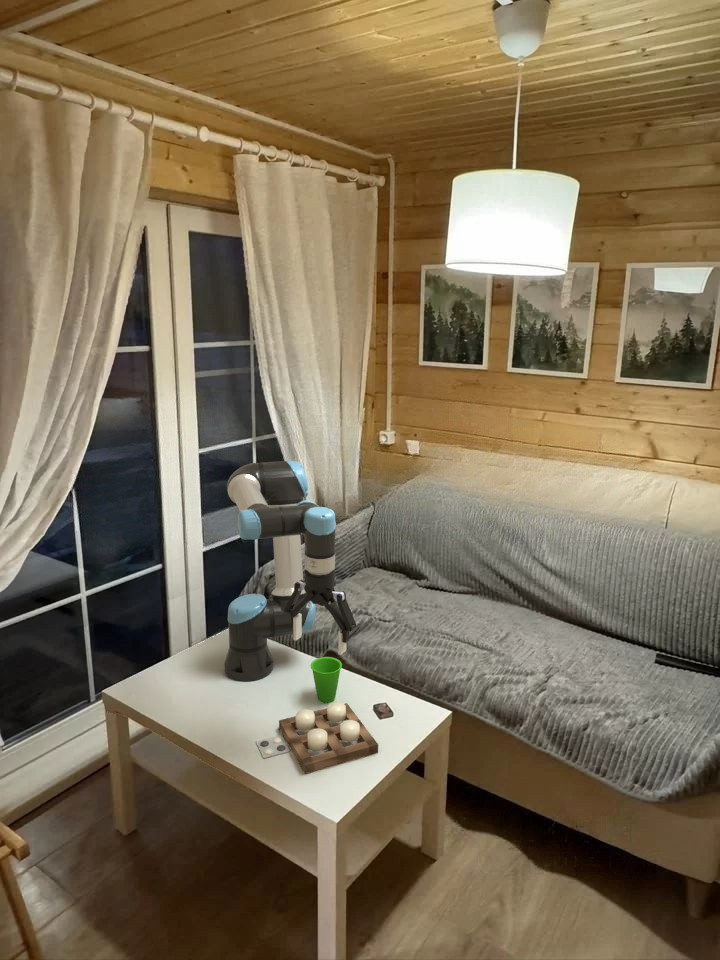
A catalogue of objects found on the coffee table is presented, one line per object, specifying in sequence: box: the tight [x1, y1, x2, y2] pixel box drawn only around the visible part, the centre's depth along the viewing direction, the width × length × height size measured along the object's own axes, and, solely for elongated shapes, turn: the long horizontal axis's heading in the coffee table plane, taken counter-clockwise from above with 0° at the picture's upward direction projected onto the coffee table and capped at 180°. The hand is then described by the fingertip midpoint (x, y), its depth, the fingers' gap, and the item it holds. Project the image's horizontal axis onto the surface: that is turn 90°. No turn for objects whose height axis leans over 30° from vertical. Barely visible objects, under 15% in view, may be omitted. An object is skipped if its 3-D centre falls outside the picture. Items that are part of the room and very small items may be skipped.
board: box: [278, 702, 379, 775], centre depth 180 cm, size 20×20×2 cm
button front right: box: [307, 728, 327, 752], centre depth 173 cm, size 5×5×3 cm
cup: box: [310, 656, 343, 704], centre depth 197 cm, size 9×9×11 cm
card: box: [255, 734, 291, 760], centre depth 177 cm, size 7×7×1 cm
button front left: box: [339, 720, 360, 743], centre depth 177 cm, size 5×5×3 cm
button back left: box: [326, 701, 346, 723], centre depth 185 cm, size 5×5×3 cm
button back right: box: [295, 709, 315, 732], centre depth 181 cm, size 5×5×3 cm
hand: (319, 645), depth 176 cm, fingers open, 13 cm apart
